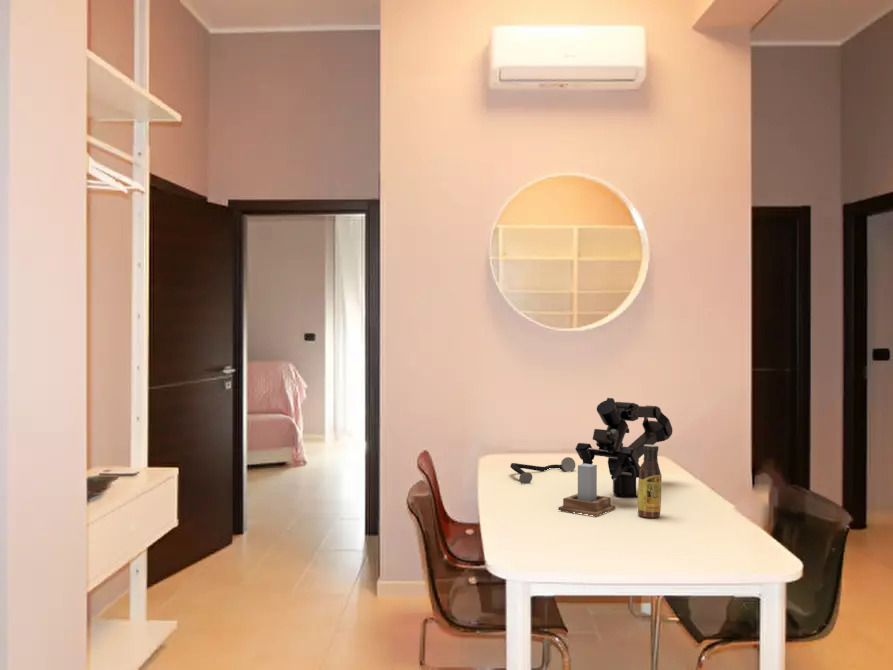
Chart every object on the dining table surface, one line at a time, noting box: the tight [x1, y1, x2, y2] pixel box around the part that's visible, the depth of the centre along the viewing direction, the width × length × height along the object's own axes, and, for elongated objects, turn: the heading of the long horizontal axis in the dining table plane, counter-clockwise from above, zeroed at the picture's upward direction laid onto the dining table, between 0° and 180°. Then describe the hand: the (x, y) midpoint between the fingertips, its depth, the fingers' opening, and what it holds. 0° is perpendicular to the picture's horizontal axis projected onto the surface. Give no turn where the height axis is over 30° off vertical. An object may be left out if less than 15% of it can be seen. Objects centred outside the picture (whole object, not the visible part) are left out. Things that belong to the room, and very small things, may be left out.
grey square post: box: [577, 463, 598, 502], centre depth 225 cm, size 4×4×12 cm
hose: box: [509, 456, 576, 484], centre depth 278 cm, size 34×14×6 cm, turn 141°
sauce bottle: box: [637, 444, 663, 519], centre depth 218 cm, size 6×6×20 cm
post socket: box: [557, 493, 616, 517], centre depth 225 cm, size 12×12×4 cm
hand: (597, 476), depth 230 cm, fingers open, 9 cm apart
